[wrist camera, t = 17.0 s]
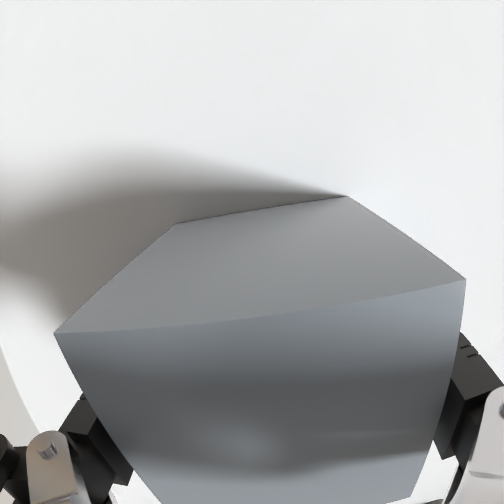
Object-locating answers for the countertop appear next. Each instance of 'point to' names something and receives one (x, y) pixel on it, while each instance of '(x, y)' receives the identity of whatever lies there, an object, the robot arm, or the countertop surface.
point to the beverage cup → (436, 502)
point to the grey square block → (273, 357)
